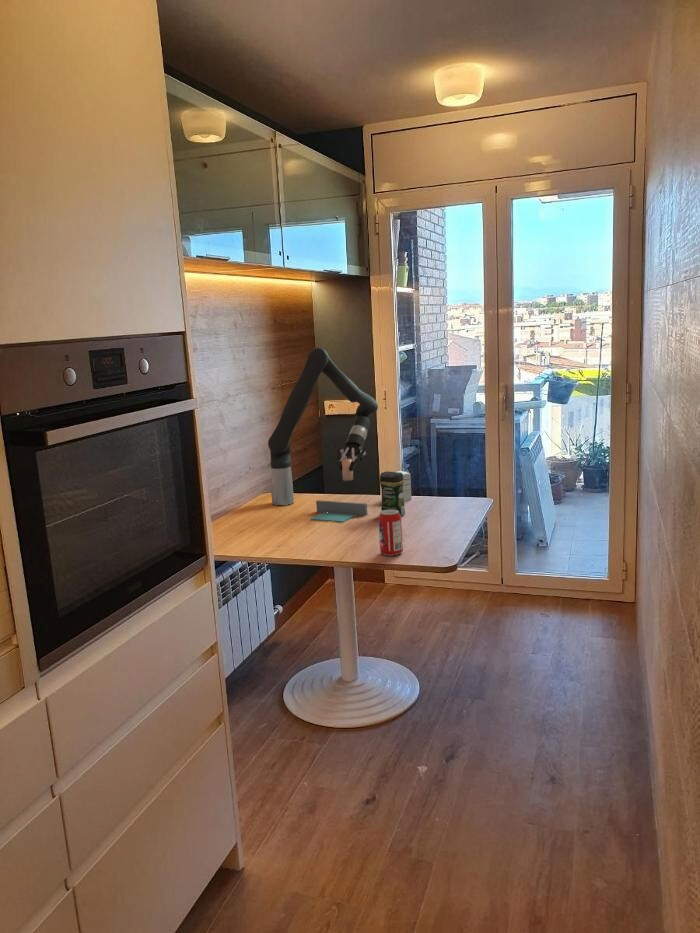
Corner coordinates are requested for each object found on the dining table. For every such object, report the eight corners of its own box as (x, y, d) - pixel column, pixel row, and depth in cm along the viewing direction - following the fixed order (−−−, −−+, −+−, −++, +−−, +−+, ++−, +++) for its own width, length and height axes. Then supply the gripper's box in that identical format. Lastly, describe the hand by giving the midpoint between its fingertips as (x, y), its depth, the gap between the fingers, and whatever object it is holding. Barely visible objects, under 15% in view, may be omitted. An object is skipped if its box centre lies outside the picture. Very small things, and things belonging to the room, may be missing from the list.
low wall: (316, 512, 318) (316, 501, 317) (318, 511, 320) (317, 500, 319) (365, 515, 307) (365, 504, 306) (367, 514, 308) (366, 503, 307)
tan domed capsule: (341, 480, 316) (340, 460, 314) (344, 478, 320) (343, 458, 318) (351, 480, 314) (350, 460, 313) (354, 478, 319) (353, 458, 317)
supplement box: (389, 500, 332) (387, 472, 330) (403, 497, 335) (401, 470, 333) (398, 503, 326) (396, 475, 323) (412, 500, 329) (410, 472, 327)
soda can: (399, 557, 248) (396, 514, 246) (377, 556, 251) (374, 514, 249) (405, 550, 256) (403, 509, 253) (384, 549, 258) (382, 508, 256)
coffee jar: (378, 516, 304) (375, 473, 300) (388, 512, 310) (386, 469, 307) (398, 519, 298) (396, 474, 295) (408, 514, 304) (406, 470, 301)
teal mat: (309, 520, 306) (309, 518, 306) (323, 513, 315) (323, 512, 315) (343, 522, 298) (343, 521, 298) (356, 515, 308) (356, 514, 307)
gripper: (339, 432, 323) (327, 464, 315) (368, 433, 317) (356, 465, 308) (345, 442, 329) (334, 474, 321) (374, 443, 322) (363, 475, 314)
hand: (345, 469), depth 315 cm, fingers closed on tan domed capsule, 4 cm apart
